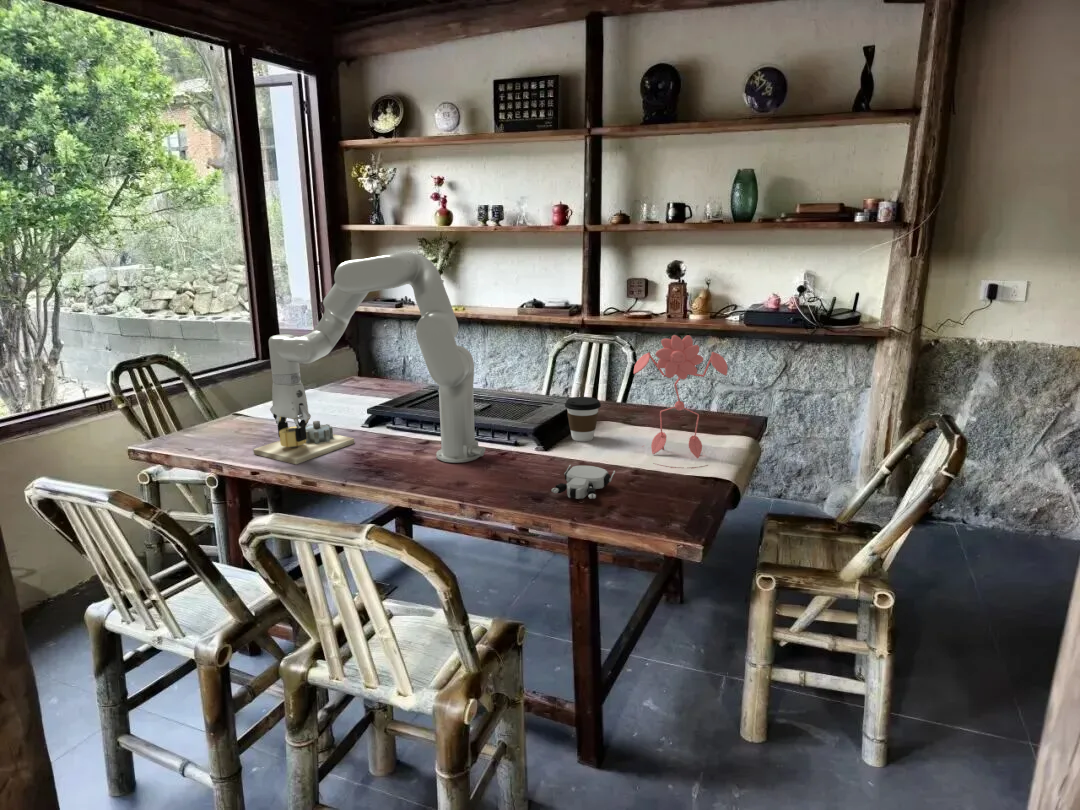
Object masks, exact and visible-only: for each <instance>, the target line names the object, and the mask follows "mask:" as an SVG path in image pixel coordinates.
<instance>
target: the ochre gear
mask: <svg viewBox="0 0 1080 810" xmlns="http://www.w3.org/2000/svg"><path fill="white" fill-rule="evenodd" d="M291 428H297V427H296V425H295V426H288V427H287V428H284V429H281V430H280V431H279V434H280V437H279V441H280V443H281V446H285V447H287V446H288V447H293V446H299V445H302V444H304V443H306V440H303V441H300V442H297V441H296V432H295V431H293V432H289V431H288V429H291Z"/></svg>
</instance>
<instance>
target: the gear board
mask: <svg viewBox="0 0 1080 810" xmlns="http://www.w3.org/2000/svg"><path fill="white" fill-rule="evenodd" d="M288 431H289V432H293V431H295V428H291V429H288ZM333 431H334V430H333V426H331V425H330V424H328V423H327V424H321V421H320V420H314V421H312V425H307V426H306V437H307V438H306V443H304V444H302V445H299V446H293V447H288V446H287V447H285V446H281V443H280V440H277V441H274V442H271V443H268V444H265V445H262V446H259V447H256V448H253V450H252V451H253V455H256V456H261V457H265V458H268V459H273V460H277V461H280V462H285V463H289V464H292V465H299V464H302V463H304V462H306V461H309V460H312V459H315V458H317V457H320V456H323V455H326V454H328V453H331V452H334V451H336V450H339V449H343V448H345V447H348V446H350V445H354V444H355V443H356V442H355V438H354V437H349V436H345V435H339V434H334V432H333Z"/></svg>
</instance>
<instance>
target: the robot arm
mask: <svg viewBox="0 0 1080 810" xmlns="http://www.w3.org/2000/svg"><path fill="white" fill-rule="evenodd" d="M333 277H334V283H333V286H332V287H331V289H329V291H328V293H327V294H326V296H325V297H324V298H323V300H322V303H323V306H324V311H323V312H324V313H323V314H322V317H321V319H320V320H319V322H318V323H317V325H316V326H315V327H314V329H313V330H312V331H311V332H310V333H307V334H305V335H302V336H298V337H296V336H295V335H294V334H293V335H292V334H284V333H283V334H276V335H272V336H270V337H269V339H268V349H269V359H270V360H269V361H270V367H271V377H272V386H271V387H272V389H271V392H272V393H271V394H272V395H271V399H272V405H271V407H270V408H269V410H270V412H271V414H272V416H273V418H274V420H275V424H276V425H277V432H278V434H277V435H278V438H280V434H279V431H280V430H281V429H284V428H287V427H289V423H288V421H287V419H289V420H290V419H291V420H293V422H294V425H295V426H296V427H297V428H295V432H296V441H297V442H300V441H303V440H306V438H307V437H306V426H308V423H309V421H310V420H311V419H312V418H311V417H312V415H311V414H310V413H309V406H308V398H307V395H306V390H305V387H304V384H303V382H302V380H301V379H302V377H301V370H300V369H301V368H300V364H311V363H314V362H316V361H319V359H322V358H324V357H325V356H327V355H329V353H331V351H332V350H333V349H334V347H335V346H336V345H337V343H338V342H339V340H340V339H341V337H342V336H343V335H344V333H345V331H346V329H347V327H348V325H349V323H350V321H351V319H352V316H354V314H355V312H356V310H358V308H359V307H360V305H361V304H362V302H363V301H364V300H365V298H366V297H367V295H368V294H369V293H370V292H378V291H383V290H389V289H395V288H399V287H400V288H401V287H402V286H406V285H410V286H411V287H412V290H413V294H414V299H415V302H416V305H417V307H418V310H419V313H420V316H421V317H420V318H419V319H418V322H417V324H416V328H415V335H416V340H417V343H418V345H419V349H420V352H421V354H422V357H423V360H424V362H425V365H426V367H427V371H428V373H429V375H430V377H431V379H432V381H433V382H434V383H435V384H436V385H438V386H439V387H438V388H439V389H438V396H439V397H438V398H439V402H438V403H439V420H440V421H439V423H440V424H439V425H440V443H441V444H440V445H441V448H440V449H438V450H437V451H436V454H435V455H436V458H437V460H439V461H440V462H441V461H442V462H444V463H454V464H456V463H457V464H459V463H461V464H462V463H467V462H472V461H475V460H477V459H479V458H480V457H483V456H484V455H485V452H486V447H484V446H479V440H476V438H475V437H476V436H475V435H476V433H475V430H476V429H475V408H474V407H475V406H474V381H475V380H474V376H475V364H474V363H475V362H474V357H473V355H472V353H471V352H470V350H468V349H467V348H466V347H464V346H461V345H458V344H457V342H456V337H457V335H458V332H459V323H458V320H457V317H456V315H455V313H454V310H453V306H452V304H451V301H450V298H449V296H448V293H447V291H446V288H445V285H444V282H443V279H442V277H441V274H440V272H439V270H438V268H437V267H436V265H435V264H434V263H433V262H432V261H431V260H430V259H428V257H425V256H424V255H421V254H418V253H414V252H405V251H404V252H401V251H400V252H396V253H391V254H384V255H378V256H373V257H368V258H359V259H358V258H356V259H350V260H345V261H344V262H341V263H340V264H338V266H337V267H336V270H335V272H334V275H333Z"/></svg>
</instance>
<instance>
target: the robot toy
mask: <svg viewBox="0 0 1080 810" xmlns="http://www.w3.org/2000/svg"><path fill="white" fill-rule="evenodd" d="M615 473H616V470H613V472H612V474H611V475H610V474H609V471H608V470H607V469H605V468H602V467H598V466H593V465H574V466H571V464H569V465H568V467H567V469H566V471H565V472H564V473H563V475H564V478H565V479H564V480H566V483H557V484H556V485H555V487H552V488H551V492H552V493H554V494H562V493H564V492H566V494H567V498H569V499H571V498H572V499H576V500H577V499H578V500H580V499H583V500H584V499H585V498H586V497H588V498H589V499H596V498H597V494H596V493H597V492H596V490H598V489H603V488H604V487H606V486H608V485H609V483H611V482H612V479H613V477H614V474H615Z"/></svg>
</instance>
